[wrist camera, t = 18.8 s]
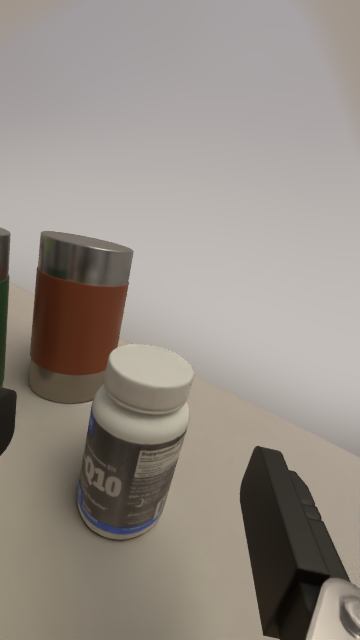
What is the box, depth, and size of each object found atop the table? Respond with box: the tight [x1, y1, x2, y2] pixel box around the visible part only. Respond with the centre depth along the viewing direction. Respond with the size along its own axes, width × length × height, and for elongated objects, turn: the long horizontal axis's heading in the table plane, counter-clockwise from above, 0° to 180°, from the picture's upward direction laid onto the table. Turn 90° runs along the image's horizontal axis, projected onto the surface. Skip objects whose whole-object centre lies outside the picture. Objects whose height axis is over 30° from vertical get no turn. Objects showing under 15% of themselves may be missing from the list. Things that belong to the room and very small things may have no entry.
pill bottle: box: [77, 344, 194, 540], centre depth 14 cm, size 5×5×8 cm
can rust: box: [29, 231, 133, 403], centre depth 23 cm, size 7×7×12 cm
